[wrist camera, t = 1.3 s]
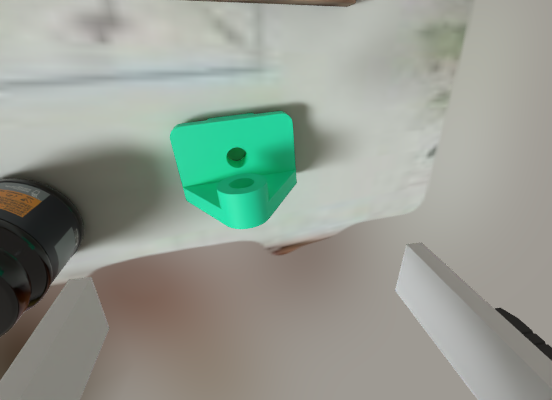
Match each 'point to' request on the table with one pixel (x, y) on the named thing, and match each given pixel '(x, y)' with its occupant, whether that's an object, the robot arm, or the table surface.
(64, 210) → the supplement container
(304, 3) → the tray
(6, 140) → the table surface
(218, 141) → the camera mount
